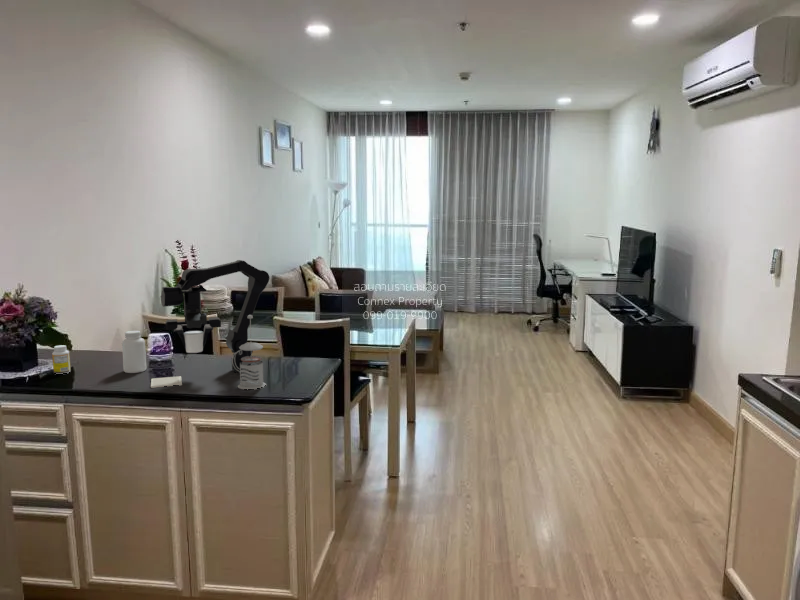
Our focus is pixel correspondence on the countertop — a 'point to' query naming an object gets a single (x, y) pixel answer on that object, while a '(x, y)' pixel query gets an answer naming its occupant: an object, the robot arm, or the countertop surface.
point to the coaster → (166, 381)
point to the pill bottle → (133, 352)
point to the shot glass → (194, 341)
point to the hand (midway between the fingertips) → (194, 346)
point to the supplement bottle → (61, 359)
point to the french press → (247, 380)
